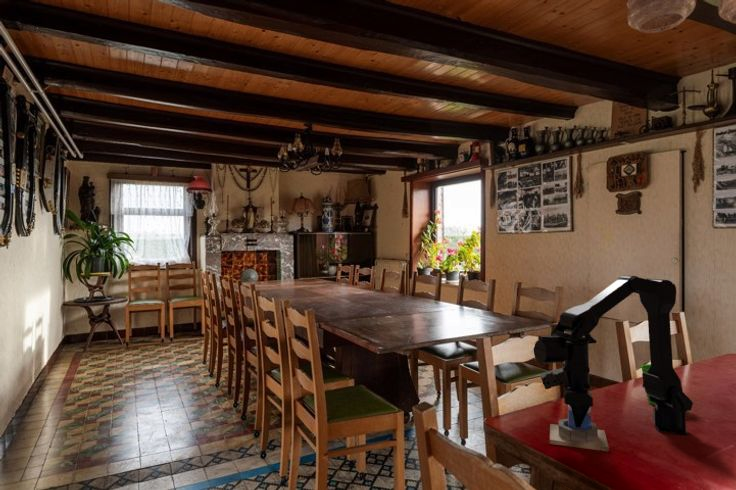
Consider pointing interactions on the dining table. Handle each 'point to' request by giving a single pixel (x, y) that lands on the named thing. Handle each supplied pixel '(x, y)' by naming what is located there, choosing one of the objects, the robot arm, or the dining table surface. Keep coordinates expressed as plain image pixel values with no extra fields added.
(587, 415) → the pill bottle
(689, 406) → the robot arm
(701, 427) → the dining table surface
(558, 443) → the collar
